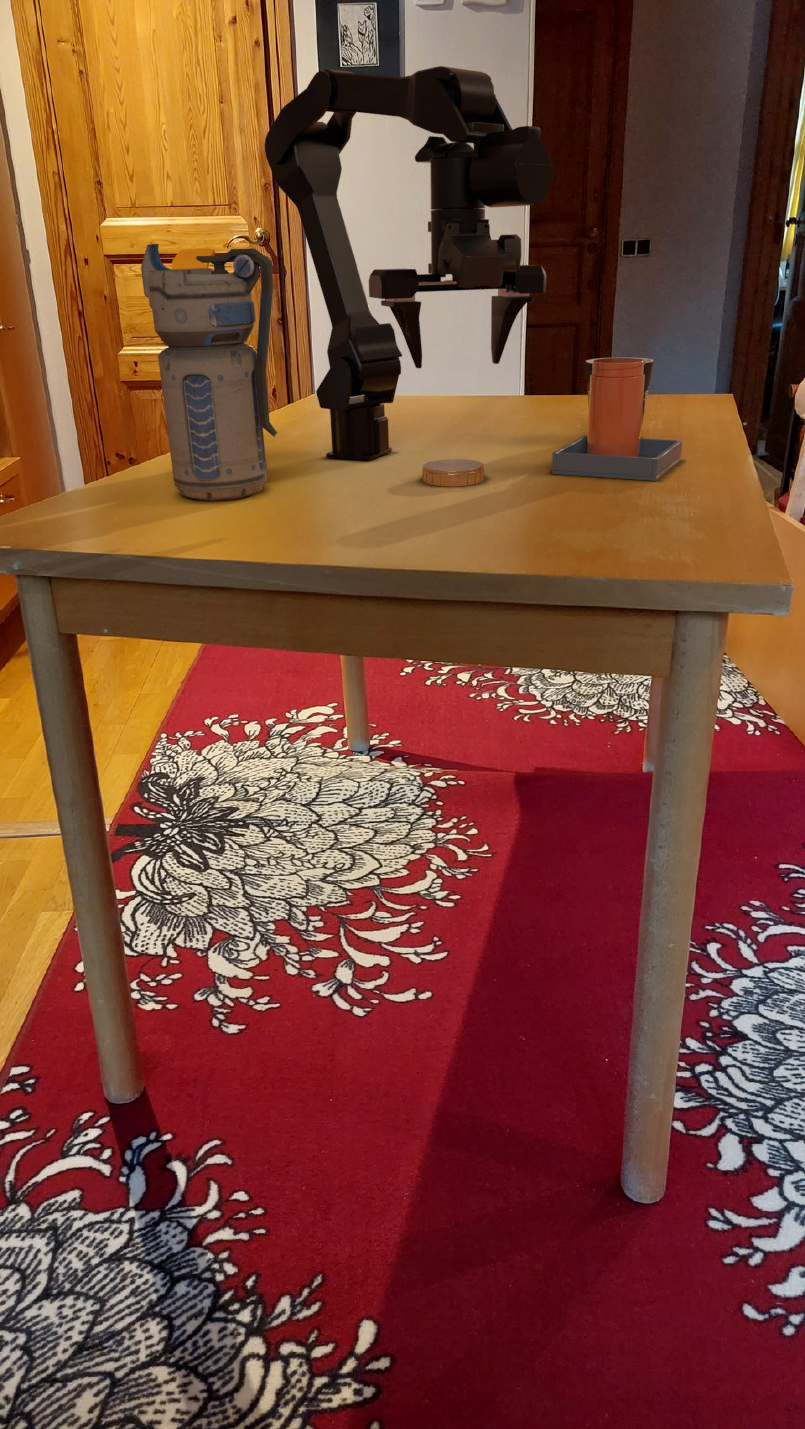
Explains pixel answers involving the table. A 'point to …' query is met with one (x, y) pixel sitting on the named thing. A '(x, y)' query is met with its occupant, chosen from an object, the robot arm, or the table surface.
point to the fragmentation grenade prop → (213, 370)
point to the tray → (618, 460)
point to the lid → (453, 472)
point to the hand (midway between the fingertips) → (457, 365)
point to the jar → (615, 407)
